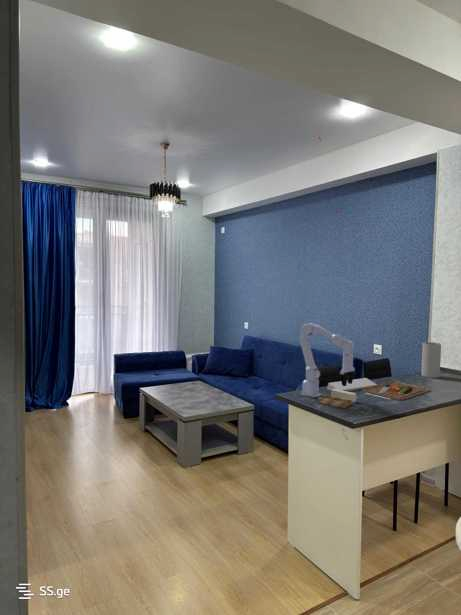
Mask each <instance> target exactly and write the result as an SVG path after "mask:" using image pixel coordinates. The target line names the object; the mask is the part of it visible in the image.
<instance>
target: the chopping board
mask: <svg viewBox="0 0 461 615" xmlns="http://www.w3.org/2000/svg"><path fill="white" fill-rule="evenodd" d="M429 392H431V389H430V388H427V387H423V386H418V385H415V384H414V385H413V384H408V383H404V382H398V381H390V382H386V383H382V384H379V385H378V384H377V386H375V387H371V388H367V389H362V393H365V394H366V395H369V396H372V397H377V398H382V399H385V400H390V401H391V400H396V401H406V400H408V399H411V398H415V397H417V396H420V395H423V394H427V393H429Z"/></svg>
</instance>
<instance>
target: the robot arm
mask: <svg viewBox="0 0 461 615" xmlns="http://www.w3.org/2000/svg"><path fill="white" fill-rule="evenodd" d="M312 334H320V335H322V336H324V337H326V338H327V339H330V341H331V343H332V344H334V345H336V346H337V347H339V348H341V349H342V350H343V351H342V369H341V370H340V372H338V375H339V378H340V381H341V382H342V386H346V384H347V380H348V383H349V384H352V381H353V380H354V377H355V375H356V374H357V371H355V367H354V348H355V342H354V341H352V340H351V339H348V338H347V337H346V338H345V337H343V336H341V334H340V333H335V334H334V333H332V332H330V331H328V330H327V329H325V328H324V327H322V326H320V325H319V324H317V323H316V324H315V322H309V323H304V324H303V325H302V326H301V327H300V332H299V337H298V339H299V343H300V347H301V351H302V354H303V358H304V362H305V379H304V380H303V381H302V385H301V386H302V388H301V390H302V391H301V395H302V396H306V397H311V398H319V397H321V396H322V393H320V392H319V391H320V390H319V389H320V388H319V387H320V386H319V384H320V379H319V378H320V377H321V371H320V370H319V369H318V366H317V365H316V364H315V359H314V355H313V352H312V348H311V344H310V341H309V339H310V337H311V336H312Z"/></svg>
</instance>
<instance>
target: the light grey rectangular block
mask: <svg viewBox="0 0 461 615" xmlns="http://www.w3.org/2000/svg"><path fill="white" fill-rule="evenodd" d="M330 391H331V392H330V394H331V395H330V396H335V397H340V398H345V399H350V400H352V401H351V404H353V403H356V402H357V393H356V392H353V391H342V390H338V389H333V390H330Z"/></svg>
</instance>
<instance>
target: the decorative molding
mask: <svg viewBox="0 0 461 615" xmlns="http://www.w3.org/2000/svg"><path fill="white" fill-rule="evenodd" d="M375 386H378V384H377V383H375V382H373V381H372V380H370V379H369V378H367V377H363V378H356V379H353V381H352V384H349V383H348V380H347V384H346V386H342V382H341V380H340V381H334V382H333V381H332V382H328V383H327V388H326V389H327V390H328V391H331V390H333V389H338V390H342V391H347V392H353V391H359V389H360V390H364V389H366V388H371V387H375Z"/></svg>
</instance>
